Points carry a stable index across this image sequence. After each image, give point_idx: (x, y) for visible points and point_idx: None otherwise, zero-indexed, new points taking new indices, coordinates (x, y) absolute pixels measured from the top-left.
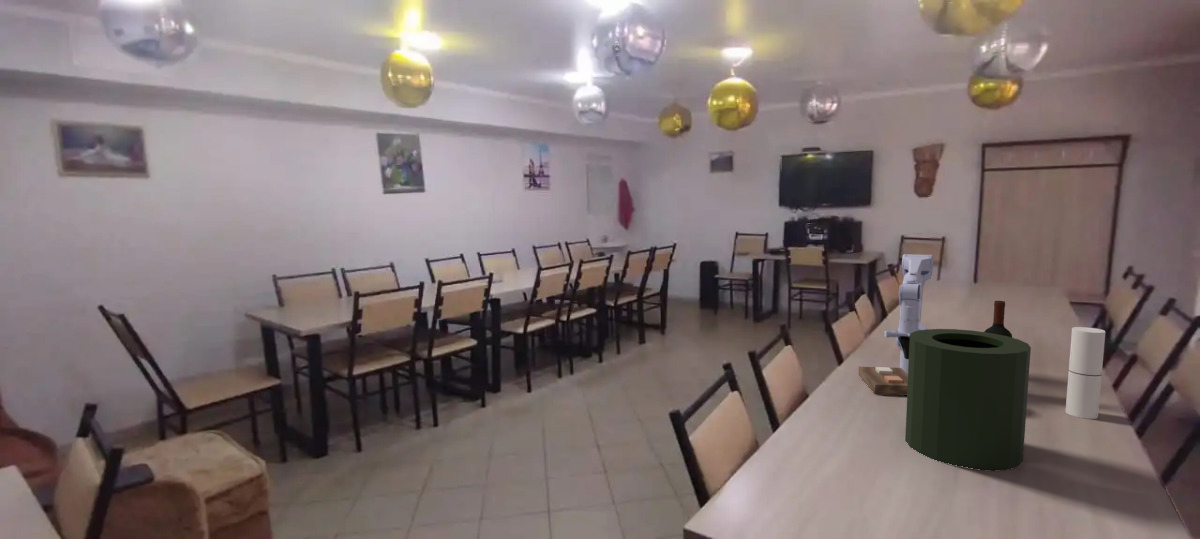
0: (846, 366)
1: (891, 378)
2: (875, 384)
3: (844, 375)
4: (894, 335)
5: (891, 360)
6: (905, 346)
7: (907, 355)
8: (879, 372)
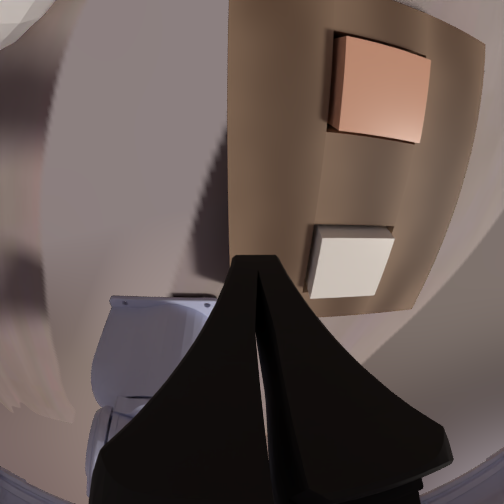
0: (370, 354)
1: (404, 83)
2: (483, 45)
3: (435, 277)
4: (470, 493)
5: None
6: (351, 371)
7: (278, 274)
8: (388, 232)
